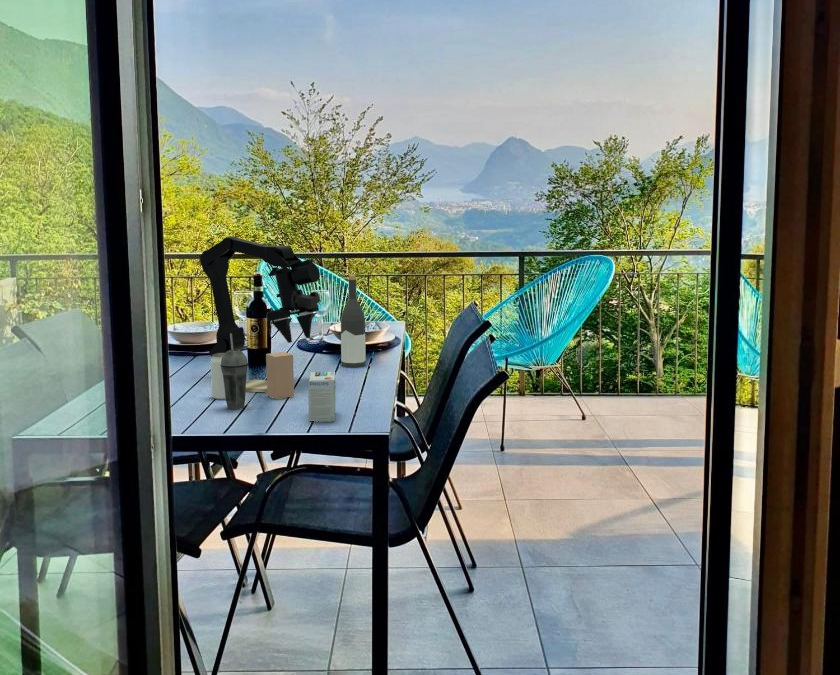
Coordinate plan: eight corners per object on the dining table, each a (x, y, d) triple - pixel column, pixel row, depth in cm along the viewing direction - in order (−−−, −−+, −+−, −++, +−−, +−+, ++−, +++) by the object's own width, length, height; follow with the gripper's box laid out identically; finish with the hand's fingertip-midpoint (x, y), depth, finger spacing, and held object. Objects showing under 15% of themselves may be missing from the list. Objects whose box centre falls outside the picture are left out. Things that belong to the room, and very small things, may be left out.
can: (229, 400, 241) (228, 357, 239) (208, 399, 242) (206, 356, 240) (239, 395, 247) (237, 353, 245) (217, 394, 248) (216, 352, 246)
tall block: (267, 396, 245) (266, 354, 244) (284, 393, 249) (283, 351, 247) (276, 399, 241) (275, 356, 239) (294, 396, 244) (293, 354, 242)
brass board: (234, 391, 252) (234, 387, 251) (252, 383, 262) (252, 379, 262) (269, 393, 249) (269, 389, 248) (286, 385, 259) (286, 381, 259)
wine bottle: (370, 364, 291) (369, 274, 286) (356, 368, 284) (354, 276, 279) (351, 362, 295) (349, 273, 290) (336, 366, 288) (334, 275, 283)
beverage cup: (254, 405, 235) (252, 331, 231) (240, 411, 228) (238, 335, 225) (231, 403, 237) (228, 330, 234) (216, 409, 230) (213, 334, 227)
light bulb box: (310, 412, 227) (309, 371, 226) (336, 411, 228) (335, 370, 226) (308, 422, 217) (307, 380, 215) (335, 422, 217) (335, 379, 216)
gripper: (291, 286, 245) (302, 340, 246) (327, 280, 261) (338, 331, 262) (260, 293, 250) (271, 346, 251) (298, 287, 267) (309, 337, 267)
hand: (299, 340), depth 258 cm, fingers open, 9 cm apart
